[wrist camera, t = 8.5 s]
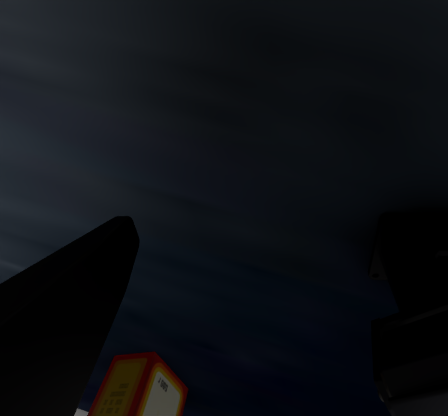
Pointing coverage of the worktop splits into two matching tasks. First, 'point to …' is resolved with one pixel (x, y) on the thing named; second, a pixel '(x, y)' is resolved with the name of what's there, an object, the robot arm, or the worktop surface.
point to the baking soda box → (139, 388)
